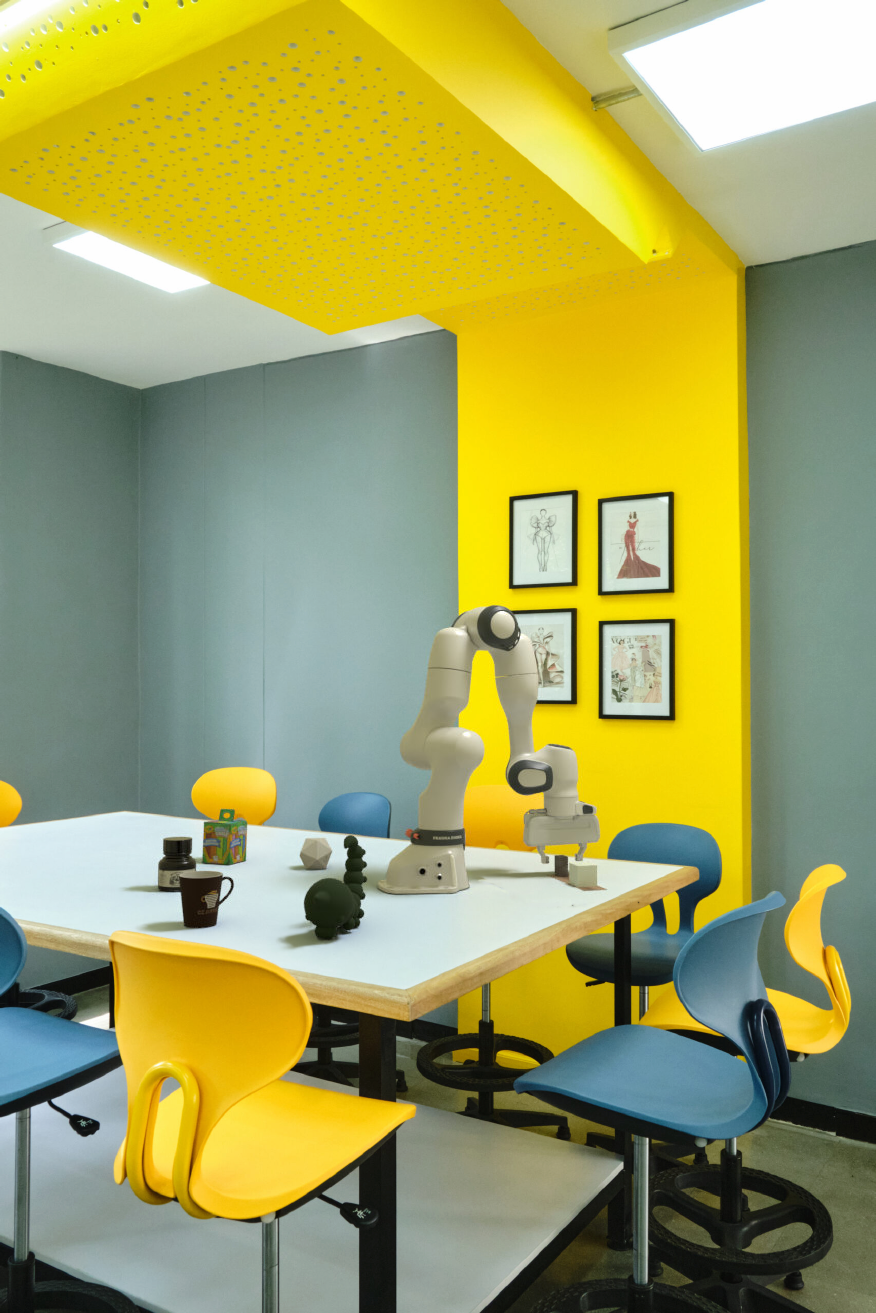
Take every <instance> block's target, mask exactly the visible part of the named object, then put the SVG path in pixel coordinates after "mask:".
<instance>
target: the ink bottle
mask: <svg viewBox="0 0 876 1313" xmlns="http://www.w3.org/2000/svg"><path fill="white" fill-rule="evenodd" d="M192 853H193V837H189V836H170V837H168V836H167V837H163V839H162V855H164V856H163V857H162V858H161V859H160V860H159V861H158V866H157V868H158V869H157V889H158V890H160V891H162V892H181V891H180V880H179V875H180V874H182V873H186V872H193V871H197V861H196V859H195V858H193V855H191V854H192Z"/></svg>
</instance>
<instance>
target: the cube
mask: <svg viewBox="0 0 876 1313" xmlns="http://www.w3.org/2000/svg"><path fill="white" fill-rule="evenodd" d="M568 874H569V884H571V885H574V886H576V887H593V886H598V864H595V863H592V862H589V861H576V862H568ZM569 884H568V885H569ZM571 885H570V886H571ZM574 886H573V887H574ZM576 887H575V888H576Z"/></svg>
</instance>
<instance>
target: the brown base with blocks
mask: <svg viewBox="0 0 876 1313" xmlns="http://www.w3.org/2000/svg"><path fill="white" fill-rule="evenodd" d="M547 876H548V877H550V878H552V879H555V880H557V881H559V882H561V883H564V884H566V885H568V886H572V887H574V888H575V889H578V890H581V891H583V892H591V891H592V892H593V891H606V890H607V891H608V888H604V887H602V886H600V885H597V886H593V887H576V886H574V885H571V884H569V856H567V855H564V854H559V855H556V854H555V855H554V874H548V875H547Z"/></svg>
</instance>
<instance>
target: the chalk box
mask: <svg viewBox="0 0 876 1313" xmlns="http://www.w3.org/2000/svg"><path fill="white" fill-rule="evenodd" d="M235 813H236V810H235V809H234V808H221V809H220V811H219V815H218V816H219V817H218V819H213V820H209V821H204V822H203V833H202V834H203V836H202V838H203V839H202V840H203V841H202V856H201V857H202V858H201V863H202V864H213V865H221V866H222V865H223V866H231V865H235V864H237V863H241V862H246V861H247V841H248V821H247V820H241V819H235ZM225 814H229V817H225V816H224V815H225Z"/></svg>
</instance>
